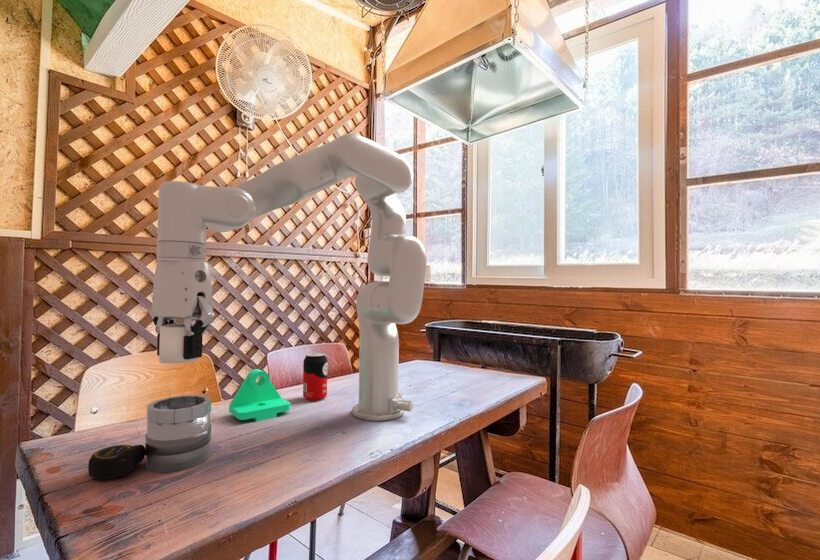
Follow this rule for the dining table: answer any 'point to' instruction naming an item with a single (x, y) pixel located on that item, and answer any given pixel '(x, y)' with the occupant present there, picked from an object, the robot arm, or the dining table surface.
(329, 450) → the dining table surface
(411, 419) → the dining table surface
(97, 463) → the tape measure
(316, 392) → the beverage can
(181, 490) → the dining table surface
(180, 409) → the grey hollow cylinder
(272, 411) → the camera mount
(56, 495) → the dining table surface
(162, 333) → the cap
